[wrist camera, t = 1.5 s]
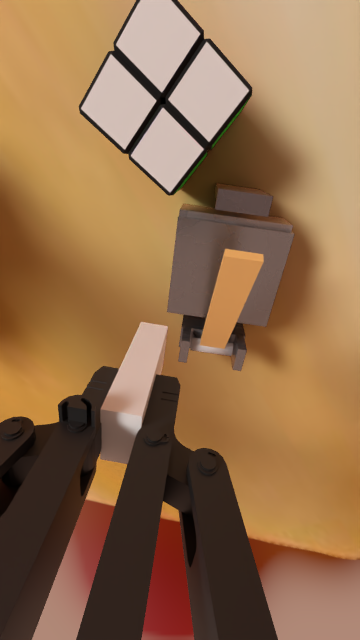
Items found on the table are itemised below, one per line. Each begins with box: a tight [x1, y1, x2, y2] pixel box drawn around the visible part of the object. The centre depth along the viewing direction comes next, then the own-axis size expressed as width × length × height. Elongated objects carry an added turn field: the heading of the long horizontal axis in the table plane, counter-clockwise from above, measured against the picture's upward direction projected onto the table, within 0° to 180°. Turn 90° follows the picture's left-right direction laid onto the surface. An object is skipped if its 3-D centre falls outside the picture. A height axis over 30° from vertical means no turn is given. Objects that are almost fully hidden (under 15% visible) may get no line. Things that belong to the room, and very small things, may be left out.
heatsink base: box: [167, 183, 294, 371], centre depth 35 cm, size 12×19×9 cm, turn 173°
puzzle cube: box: [79, 0, 252, 195], centre depth 27 cm, size 10×10×10 cm
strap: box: [191, 249, 264, 356], centre depth 30 cm, size 5×17×2 cm
